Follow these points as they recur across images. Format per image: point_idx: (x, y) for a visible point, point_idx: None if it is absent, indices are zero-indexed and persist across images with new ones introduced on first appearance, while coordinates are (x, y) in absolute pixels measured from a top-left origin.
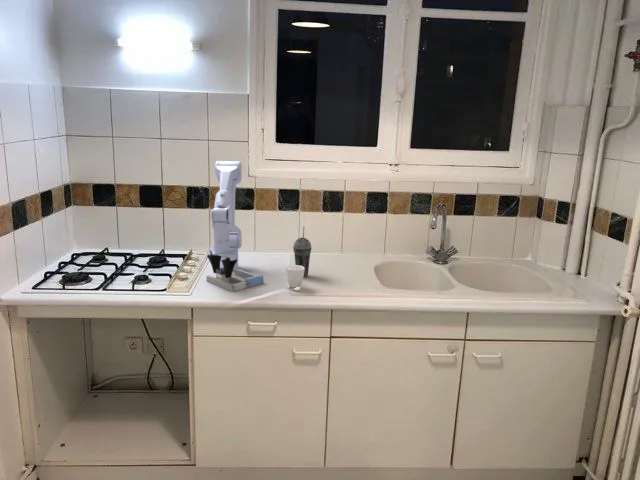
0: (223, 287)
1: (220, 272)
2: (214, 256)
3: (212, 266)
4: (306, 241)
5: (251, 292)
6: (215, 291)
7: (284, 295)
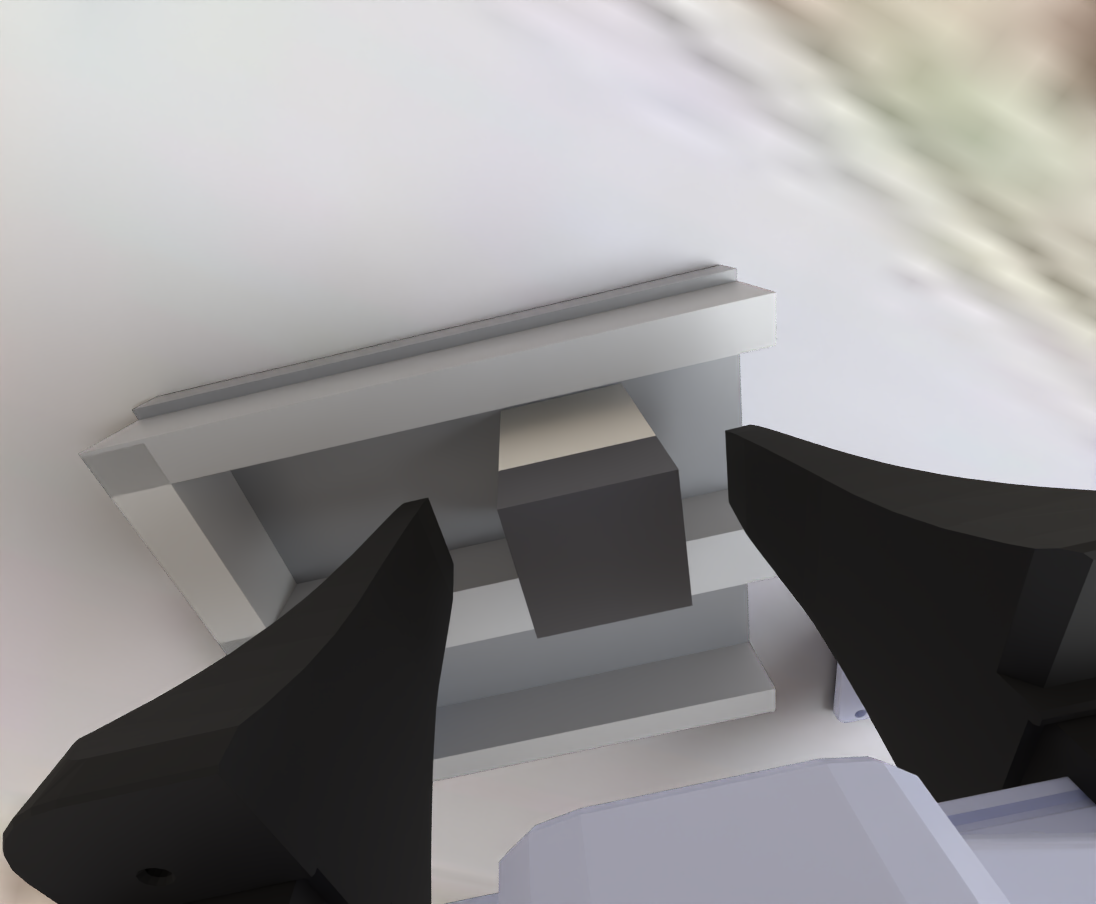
0: (324, 379)
1: (520, 488)
2: (986, 684)
3: (818, 458)
4: None
5: None
6: (347, 257)
7: (40, 769)
